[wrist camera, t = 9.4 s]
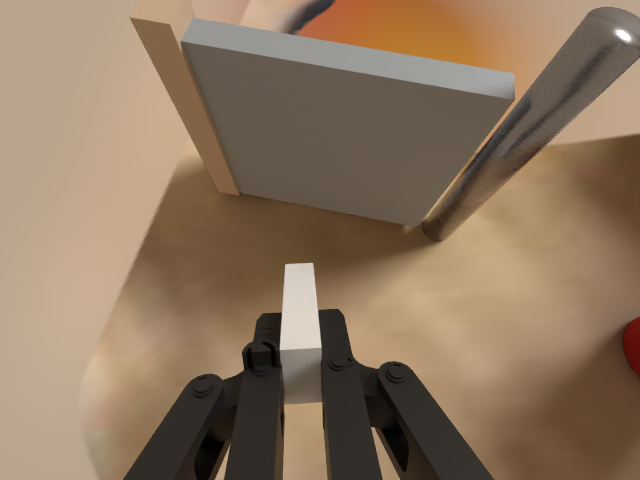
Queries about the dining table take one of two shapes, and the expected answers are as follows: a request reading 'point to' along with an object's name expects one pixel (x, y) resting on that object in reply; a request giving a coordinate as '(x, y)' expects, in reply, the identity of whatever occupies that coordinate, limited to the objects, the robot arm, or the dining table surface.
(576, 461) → the dining table surface
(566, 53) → the gate post
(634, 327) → the plastic cup
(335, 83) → the panel
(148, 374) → the dining table surface
